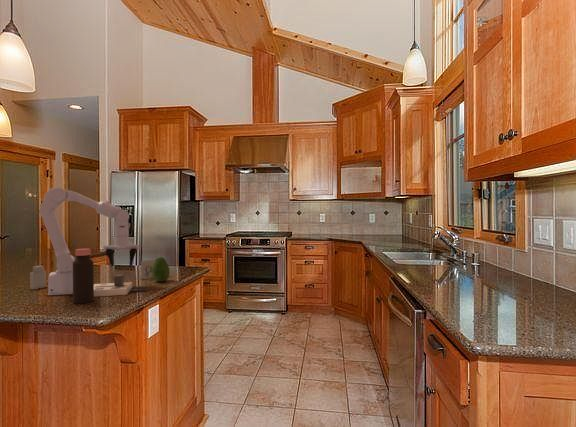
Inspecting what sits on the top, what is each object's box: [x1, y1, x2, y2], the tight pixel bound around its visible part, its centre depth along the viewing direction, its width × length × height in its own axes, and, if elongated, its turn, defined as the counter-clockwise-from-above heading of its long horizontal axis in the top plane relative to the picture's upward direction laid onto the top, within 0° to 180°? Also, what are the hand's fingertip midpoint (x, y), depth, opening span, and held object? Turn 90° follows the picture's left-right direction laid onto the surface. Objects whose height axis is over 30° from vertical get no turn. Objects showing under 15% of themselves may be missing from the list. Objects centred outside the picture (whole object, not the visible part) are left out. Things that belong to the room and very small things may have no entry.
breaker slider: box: [113, 273, 125, 286], centre depth 139 cm, size 3×4×4 cm
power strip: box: [94, 281, 148, 298], centre depth 139 cm, size 22×12×3 cm, turn 105°
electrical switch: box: [140, 259, 156, 280], centre depth 167 cm, size 9×5×9 cm, turn 116°
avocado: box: [152, 256, 171, 283], centre depth 158 cm, size 8×8×12 cm
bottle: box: [72, 247, 95, 305], centre depth 124 cm, size 7×7×20 cm
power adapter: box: [29, 260, 47, 290], centre depth 145 cm, size 3×5×12 cm, turn 162°
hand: (121, 265), depth 148 cm, fingers open, 7 cm apart
